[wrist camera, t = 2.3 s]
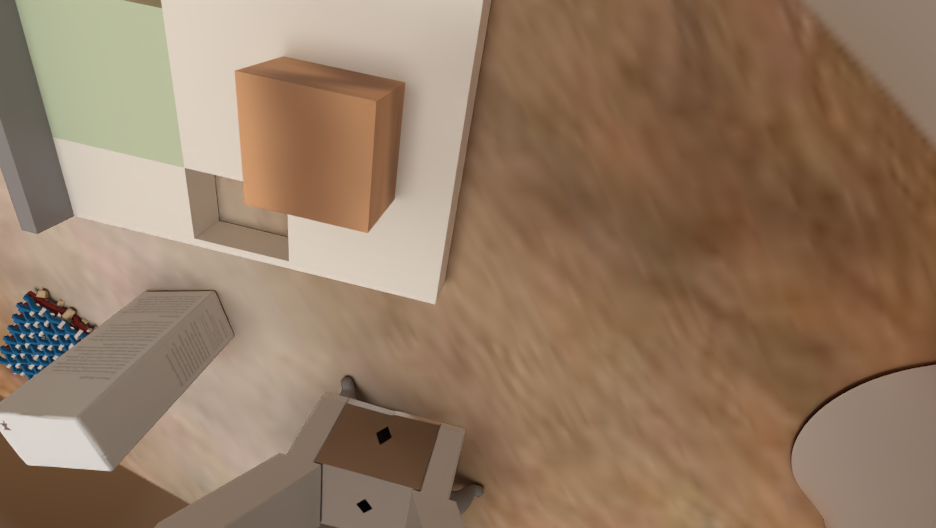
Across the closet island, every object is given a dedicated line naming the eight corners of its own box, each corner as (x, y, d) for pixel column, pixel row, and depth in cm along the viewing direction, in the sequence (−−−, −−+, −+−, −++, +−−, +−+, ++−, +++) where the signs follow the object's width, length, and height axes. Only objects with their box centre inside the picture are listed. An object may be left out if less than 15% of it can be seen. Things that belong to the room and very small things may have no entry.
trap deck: (500, -55, 22) (482, -61, 18) (444, 281, 32) (424, 330, 27) (7, -148, 24) (-116, -173, 20) (92, 196, 33) (21, 230, 29)
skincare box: (168, 336, 39) (24, 467, 29) (145, 289, 37) (-20, 411, 27) (238, 337, 38) (112, 475, 27) (217, 288, 36) (73, 417, 25)
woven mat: (122, 418, 46) (104, 435, 45) (13, 348, 44) (-10, 363, 42) (163, 360, 41) (145, 378, 40) (43, 278, 39) (18, 292, 37)
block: (405, 82, 24) (376, 101, 20) (394, 199, 27) (367, 233, 23) (283, 56, 24) (234, 70, 21) (286, 174, 27) (244, 204, 24)
